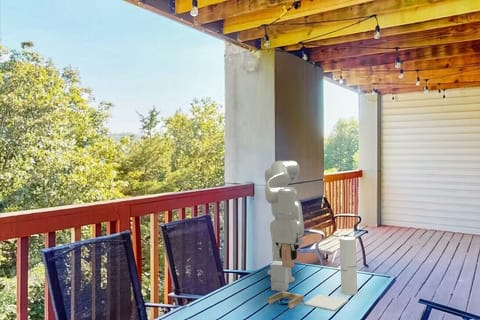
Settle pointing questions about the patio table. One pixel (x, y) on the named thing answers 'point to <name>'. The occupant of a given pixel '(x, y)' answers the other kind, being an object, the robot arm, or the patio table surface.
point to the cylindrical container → (348, 265)
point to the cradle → (293, 297)
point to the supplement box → (279, 276)
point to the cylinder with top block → (287, 256)
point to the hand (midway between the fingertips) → (288, 258)
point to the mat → (326, 302)
